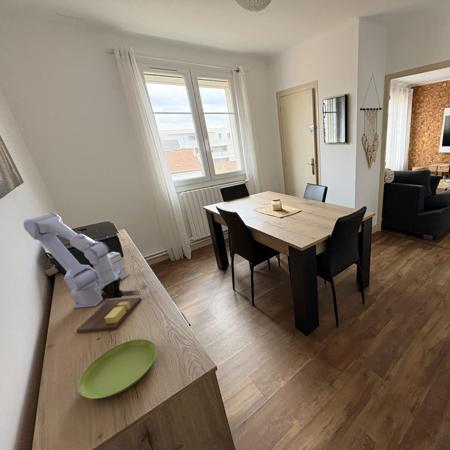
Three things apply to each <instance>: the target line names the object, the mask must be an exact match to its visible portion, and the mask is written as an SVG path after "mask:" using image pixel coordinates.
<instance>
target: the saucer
mask: <svg viewBox="0 0 450 450" xmlns="http://www.w3.org/2000/svg"><path fill="white" fill-rule="evenodd" d="M156 356H157V346H156V343H154V342H153V341H152V340H150V339H147V338H146V339H145V338H137V339H131V340H128V341H124V342H121V343H119V344H117V345H115V346H113V347H111V348H109V349H108V350H106V351H104V352H103V353H101V354H100V355H99V356H98V357H96V358H95V359H94V360H93V361H92V362H91V363H90V364H89V365H88V366H87V367H86V368H85V370H84V371H83V373H82V374H81V375H80V377H79V380H78V384H77V391H78V394H80V396H82V398H86V399H90V400H91V399H92V400H101V399H107V398H110V397H113V396H116V395H119V394H121V393H123V392H125V391H127V390H128V389H130V388H131V387H133V386H134V385H135V384H137V383H138V382H139V381H140V380H141V379H142V378H144V376H145V375H146V374H147V373H148V371H149V370H150V369H151V367H152V365H153V364H154V362H155V359H156Z"/></svg>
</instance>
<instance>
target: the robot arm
mask: <svg viewBox="0 0 450 450" xmlns="http://www.w3.org/2000/svg"><path fill="white" fill-rule="evenodd" d="M23 229H24V230H25V231H26V232H27V234H29V236H30V237H31V238H33V240H36V241H39V242H40V243H41V245H43V247H44V248H45V249H46V250H47V251H48V252H49V253H50V255H52V257H53V258H54V259H55V260H56V261H57V262H58V263H59V265H60V266H61V267H62V268H63V269H64V270H65V271H66V273H65V275H64V277H63V280H64V282H65V284H66V286H67V288H69V289H70V290H71V292H70V296H71V299H72V300H73V302H74V304H75V306H74V308H75V309H77V308H88V307H96V306H98V305H99V304H100V303H101V302H102V301H103V300H104V299H103V298H102V296H101V294H102V293H103V292H105V293H106V294H107V295H108V296H109V297H110V298H111V299H116V298H115V297H116V294H115V291H117V290H121V289H120V285H121V280H122V279H121V278H120V277H117V276H118V275H119V274H121V273H122V272H121V270H116V271H114V270H113V268H112V265H111V262H110V260H109V257H108V255H107V254H109V253H110V248H109V246H108V245H107V244H106V243H105V242H102V241H95V240H94V239H92V238H91V237H88V236H87V235H85V234H83V233H77V232H75V231H74V230H73V229H71V228H70V227H69V226H67V225H66V224H65V223H64V221H63V219H62V217H61V216H59V215H58V214H57V213H55V212H53V211H52V212H51V211H50V212H48V213H45V214H41V215H39V216H35V217H32V218H26V219H24V221H23ZM57 235H58V236H60V237H62V238H64V239H66V240H68V241H69V244H70V245H71V246H72V247H74V248H75V249H77V250H79V251H80V252H82V253H83V255H84V257H85V259H87V260H88V261H89V263H90V265H92V266H93V268H92V267H91V266H90V265H89V264H81V263H80V262H79V261H78V260H77V258H75V256H74V255H73V254H72V253H71V252H70V251H69V250H68V248H67V247H66V246H65V245H64V243H62V241H61V240H60V239H59V238H58V237H57Z"/></svg>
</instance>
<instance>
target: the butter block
mask: <svg viewBox="0 0 450 450" xmlns="http://www.w3.org/2000/svg"><path fill="white" fill-rule="evenodd" d="M125 313H126V310H125V307H115V308H114V309H113V310H112V311H111V312H110V313H109V314H108V315H107V316H106V317H105V321H106V323H107V324H110V323H117V322H118V321H119V320H120V319H121V318H122V317H123V315H124V314H125Z"/></svg>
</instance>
